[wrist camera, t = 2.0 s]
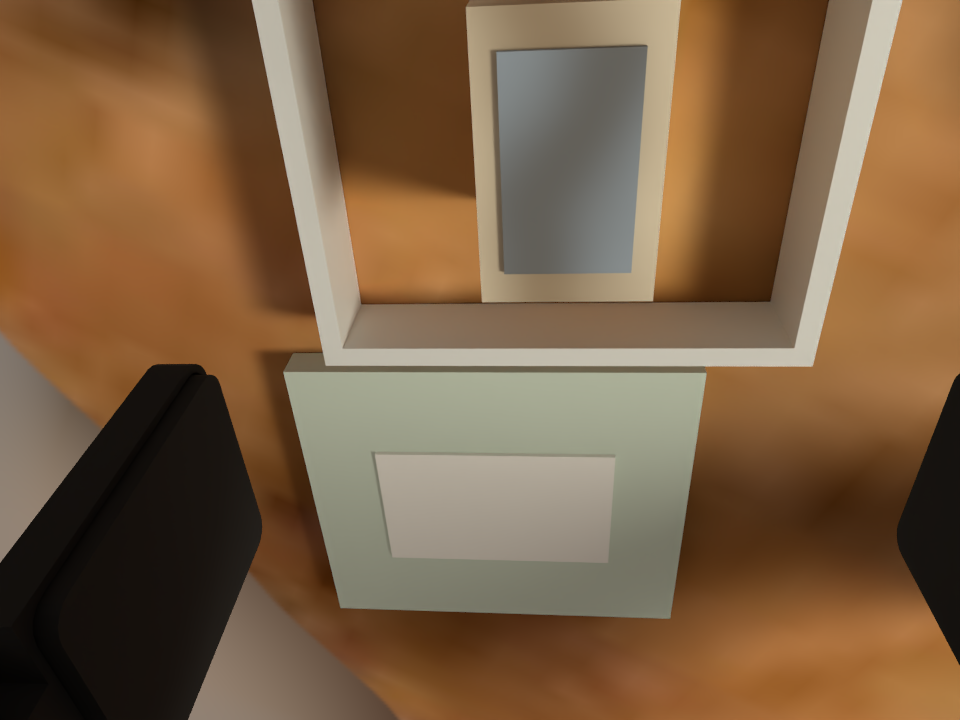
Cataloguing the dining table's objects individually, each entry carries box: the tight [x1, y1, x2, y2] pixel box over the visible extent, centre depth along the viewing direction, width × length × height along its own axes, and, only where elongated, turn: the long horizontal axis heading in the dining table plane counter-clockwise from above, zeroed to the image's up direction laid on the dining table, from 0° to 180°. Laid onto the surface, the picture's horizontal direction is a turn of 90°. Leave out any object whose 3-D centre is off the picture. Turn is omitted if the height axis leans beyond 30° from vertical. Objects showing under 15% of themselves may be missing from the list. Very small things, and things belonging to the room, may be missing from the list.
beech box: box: [466, 0, 681, 302], centre depth 23 cm, size 5×8×8 cm, turn 3°
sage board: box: [283, 353, 707, 619], centre depth 36 cm, size 18×16×2 cm
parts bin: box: [252, 0, 902, 366], centre depth 24 cm, size 19×19×4 cm
